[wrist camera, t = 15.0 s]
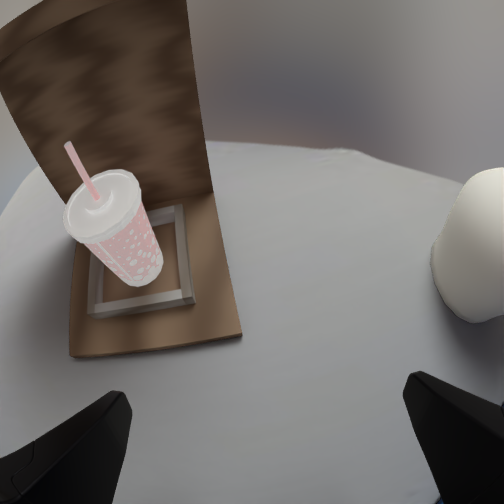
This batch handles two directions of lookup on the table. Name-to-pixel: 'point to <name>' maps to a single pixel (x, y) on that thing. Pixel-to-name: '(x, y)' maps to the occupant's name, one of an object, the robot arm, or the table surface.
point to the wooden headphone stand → (125, 161)
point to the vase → (473, 250)
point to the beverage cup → (113, 223)
